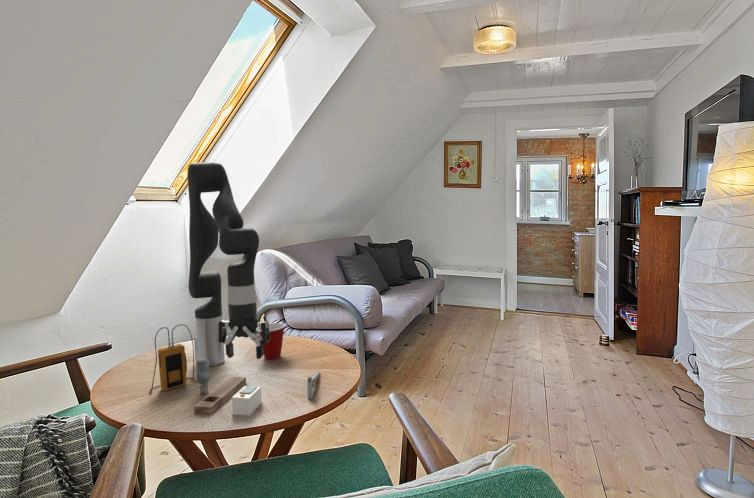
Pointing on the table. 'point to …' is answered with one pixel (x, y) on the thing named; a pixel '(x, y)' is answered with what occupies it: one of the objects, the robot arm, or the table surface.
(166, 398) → the table surface
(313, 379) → the caliper
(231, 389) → the bar
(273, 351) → the plastic cup
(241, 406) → the block
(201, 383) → the grey stepped cylinder
